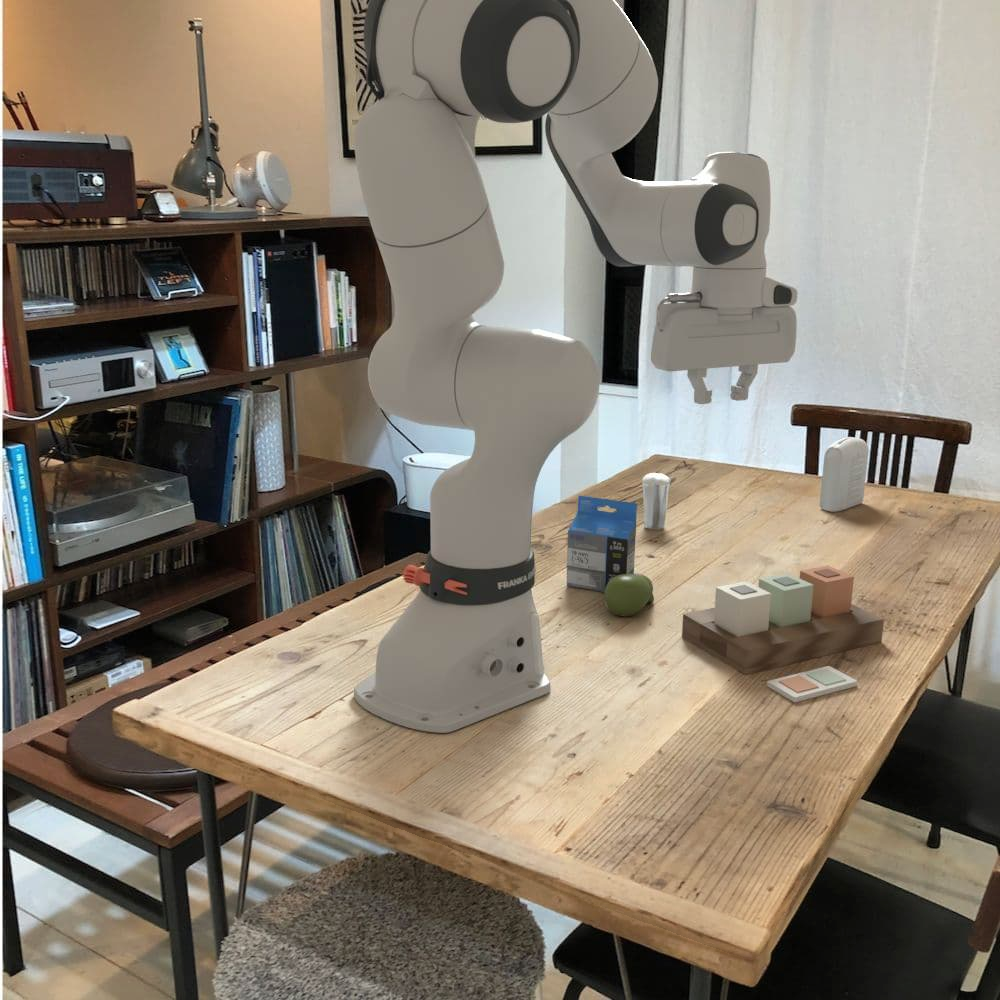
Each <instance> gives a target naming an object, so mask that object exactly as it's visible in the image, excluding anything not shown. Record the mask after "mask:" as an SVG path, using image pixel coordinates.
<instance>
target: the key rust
mask: <svg viewBox="0 0 1000 1000" xmlns="http://www.w3.org/2000/svg"><path fill="white" fill-rule="evenodd" d="M799 578H800V579H802V580H804V581H806V582H808V583H811V584H813V596H812V607H811V613H813V614H815V615H817V616H819V617H821V618H826V617H830V616H835V615H839V614H844V613H848V612H850V611H851V604H852V599H853V591H854V590H853V589H854V580H855V576H854V575H851V574H850V573H847V572H844V571H842V570H840V569H837V568H835V567H832V566H830V565H823V566H817V567H814V568H809V569H808V568H806V569H802V570H800V571H799Z"/></svg>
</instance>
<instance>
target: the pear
mask: <svg viewBox="0 0 1000 1000" xmlns="http://www.w3.org/2000/svg"><path fill="white" fill-rule="evenodd" d="M653 591H654V586H653V582H652V580H651V579H650V578H649V577H648V576H646V575H644V574H642V573H634V574H621V575H618V576H615V577H614V578H612V579H611V580H610V581H609V582H608V584H607V586H606V589H605V592H604V603H605V605H606V607H607V608H608V609H609V611H610V612H611V613H613V614H615V615H618V616H620V617H632V616H635V615H636V614H638V613H639V612H640V611H642V609H644V607H645V606H646V605H647V603H649V604H652V603H653V602H654V601H655V595H654V594H653V593H654V592H653Z"/></svg>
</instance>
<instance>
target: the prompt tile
mask: <svg viewBox="0 0 1000 1000" xmlns="http://www.w3.org/2000/svg"><path fill="white" fill-rule="evenodd" d="M857 686H858V680H856V679H854V678H852V677H851V676H849V675H848V674H845V673H843V672H841V671H840V670H838V669H835V668H834V667H832V666H830V665H826V666H823V667H818V668H814V669H811V670H807V671H802V672H798V673H795V674H789V675H787V676H781V677H778V678H774V679H771V680H767V681H766V687H768V688H770V689H771V690H772V691H774V692H776V693H778V694H779V695H781V696H783V697H784V698H786V699H787V700H790V702H793V703H798V702H802V701H806V700H810V699H813V698H816V697H820V696H824V695H827V694H833V693H835V692H839V691H843V690H846V689H847V690H848V689H850V688H854V687H857Z"/></svg>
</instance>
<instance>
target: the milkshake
mask: <svg viewBox="0 0 1000 1000" xmlns="http://www.w3.org/2000/svg"><path fill="white" fill-rule="evenodd" d="M674 473H675V471H673V472H672V473H671V475H670V477H669V476H668V475H665V473H664V474H663V473H656V472H650V473H648V474H645V476H643V478H642V495H643V496H642V498H643V500H642V501H643V526H644V527H643V528H645V529H646V530H651V531H660V530H663V529H664V528H665V525H666V524H665V523H666V515H667V507H668V502H669V501H668V500H669V493H670V486H671V480H672V478H673V476H674Z"/></svg>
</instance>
